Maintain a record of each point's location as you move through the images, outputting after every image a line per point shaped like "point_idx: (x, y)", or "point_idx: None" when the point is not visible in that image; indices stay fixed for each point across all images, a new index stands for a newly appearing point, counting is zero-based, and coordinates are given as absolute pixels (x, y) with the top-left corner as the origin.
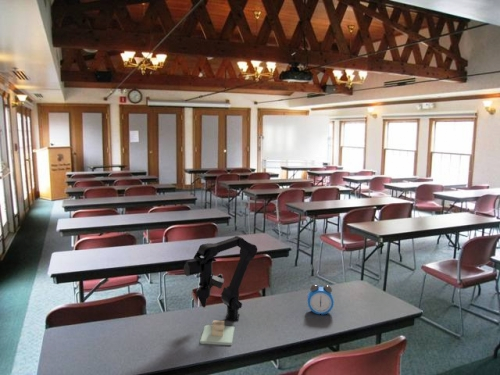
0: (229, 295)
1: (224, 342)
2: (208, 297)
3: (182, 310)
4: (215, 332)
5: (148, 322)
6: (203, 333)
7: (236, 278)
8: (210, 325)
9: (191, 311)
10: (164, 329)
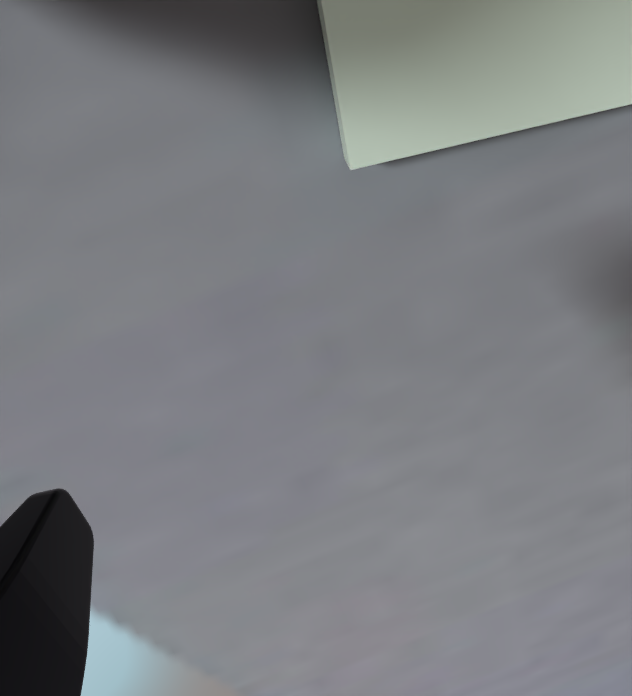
0: None
1: None
2: (47, 521)
3: None
4: None
5: (390, 657)
6: (616, 92)
7: None
8: (335, 75)
9: (3, 488)
10: (483, 529)
